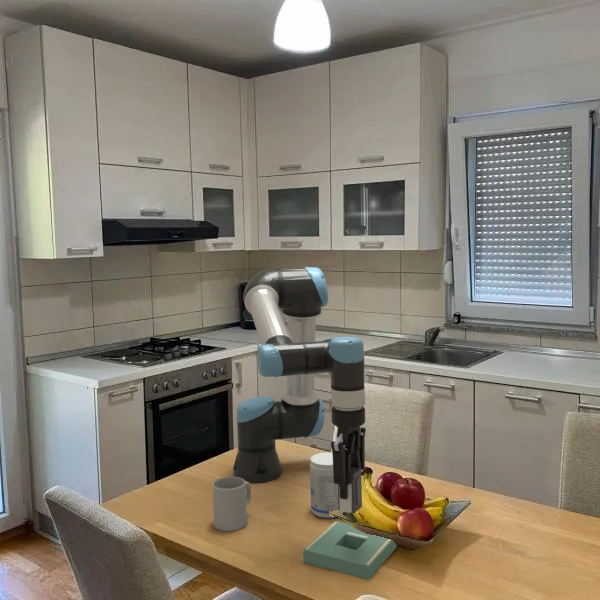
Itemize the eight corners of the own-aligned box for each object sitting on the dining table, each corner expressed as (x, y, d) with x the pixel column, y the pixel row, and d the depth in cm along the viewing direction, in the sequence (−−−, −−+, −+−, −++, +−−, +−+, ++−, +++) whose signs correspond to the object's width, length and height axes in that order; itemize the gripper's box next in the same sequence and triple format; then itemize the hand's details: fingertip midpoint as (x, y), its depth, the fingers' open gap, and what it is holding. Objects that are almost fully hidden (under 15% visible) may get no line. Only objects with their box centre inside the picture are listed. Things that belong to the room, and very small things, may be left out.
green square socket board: (335, 532, 156) (335, 520, 156) (396, 546, 148) (396, 534, 148) (303, 562, 142) (303, 549, 142) (369, 579, 134) (368, 566, 134)
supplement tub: (308, 505, 172) (306, 453, 170) (342, 502, 174) (340, 450, 172) (314, 521, 162) (313, 465, 161) (350, 517, 164) (349, 462, 163)
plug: (346, 503, 146) (345, 465, 146) (363, 507, 144) (362, 467, 143) (338, 510, 143) (337, 470, 142) (355, 513, 141) (354, 473, 140)
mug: (231, 534, 156) (229, 492, 155) (206, 526, 161) (205, 484, 160) (262, 516, 166) (261, 476, 165) (238, 509, 171) (237, 469, 170)
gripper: (349, 396, 151) (351, 491, 153) (315, 414, 136) (318, 518, 138) (378, 399, 147) (380, 496, 149) (346, 418, 132) (349, 525, 134)
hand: (350, 507), depth 144 cm, fingers closed on plug, 4 cm apart
